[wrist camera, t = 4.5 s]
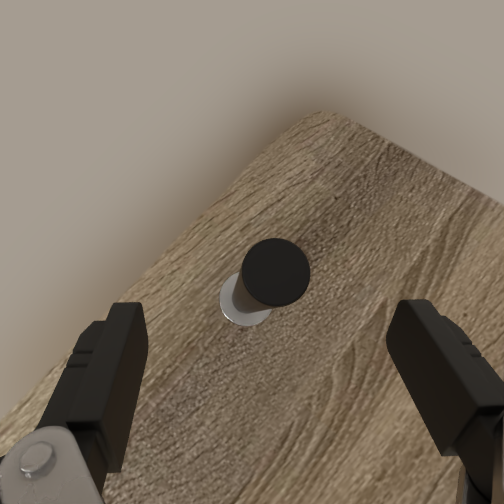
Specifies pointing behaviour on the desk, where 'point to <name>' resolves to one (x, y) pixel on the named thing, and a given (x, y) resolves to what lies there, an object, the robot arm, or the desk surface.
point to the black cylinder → (265, 282)
